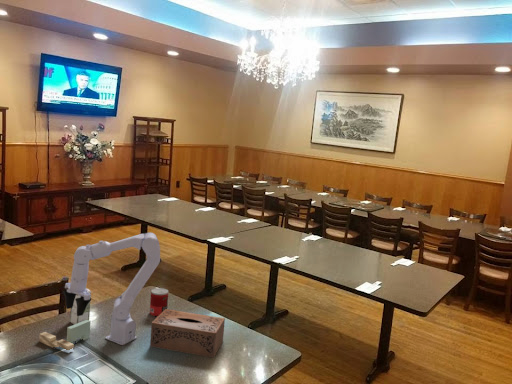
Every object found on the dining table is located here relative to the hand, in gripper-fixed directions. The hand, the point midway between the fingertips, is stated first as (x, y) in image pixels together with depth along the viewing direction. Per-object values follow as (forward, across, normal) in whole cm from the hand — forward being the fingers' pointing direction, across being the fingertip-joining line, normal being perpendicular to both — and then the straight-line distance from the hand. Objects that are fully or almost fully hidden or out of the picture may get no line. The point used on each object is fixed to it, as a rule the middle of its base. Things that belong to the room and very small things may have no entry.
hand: (74, 311), depth 162 cm
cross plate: (+11, +3, +2) cm, 12 cm away
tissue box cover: (+8, +32, +31) cm, 46 cm away
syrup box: (+12, -12, +11) cm, 20 cm away
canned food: (+9, +2, +41) cm, 42 cm away
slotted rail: (+12, +1, -6) cm, 14 cm away
